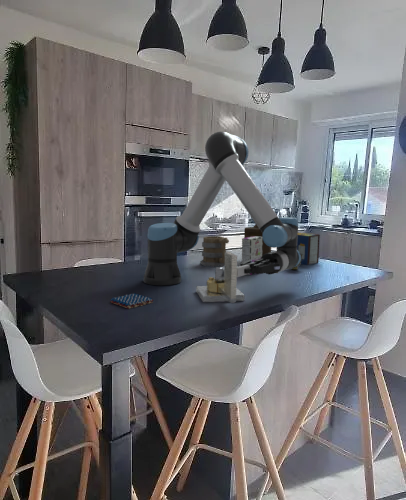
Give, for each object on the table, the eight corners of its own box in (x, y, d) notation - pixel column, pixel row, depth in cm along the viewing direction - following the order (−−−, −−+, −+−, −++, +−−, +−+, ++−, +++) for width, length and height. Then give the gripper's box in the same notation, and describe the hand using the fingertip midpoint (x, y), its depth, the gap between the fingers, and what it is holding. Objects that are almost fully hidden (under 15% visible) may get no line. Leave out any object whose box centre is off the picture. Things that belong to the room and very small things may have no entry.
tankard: (197, 262, 195) (197, 234, 193) (218, 261, 200) (219, 233, 198) (214, 269, 177) (215, 238, 175) (237, 268, 182) (238, 237, 180)
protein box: (295, 259, 211) (296, 232, 209) (318, 263, 200) (320, 234, 197) (283, 261, 205) (284, 233, 202) (307, 265, 193) (308, 235, 191)
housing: (203, 302, 122) (203, 272, 120) (196, 291, 135) (196, 264, 134) (244, 300, 124) (245, 271, 123) (233, 290, 138) (234, 263, 137)
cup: (303, 271, 176) (304, 254, 175) (287, 270, 177) (288, 254, 175) (299, 268, 184) (300, 252, 183) (284, 267, 184) (285, 252, 183)
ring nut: (205, 287, 133) (205, 246, 131) (228, 286, 134) (228, 246, 132) (219, 304, 111) (220, 256, 109) (246, 303, 113) (248, 255, 111)
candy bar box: (252, 270, 177) (254, 236, 175) (262, 271, 174) (263, 236, 172) (240, 273, 168) (241, 237, 166) (250, 275, 165) (251, 238, 163)
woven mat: (155, 304, 121) (155, 297, 121) (128, 310, 113) (128, 304, 113) (135, 297, 128) (135, 292, 128) (108, 304, 120) (108, 298, 120)
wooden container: (252, 257, 214) (253, 219, 211) (275, 260, 205) (277, 221, 202) (238, 260, 203) (239, 220, 200) (261, 264, 193) (263, 222, 190)
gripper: (290, 275, 128) (253, 287, 110) (257, 270, 137) (218, 281, 119) (291, 254, 127) (254, 262, 109) (258, 250, 136) (219, 257, 117)
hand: (236, 272), depth 114 cm, fingers closed
